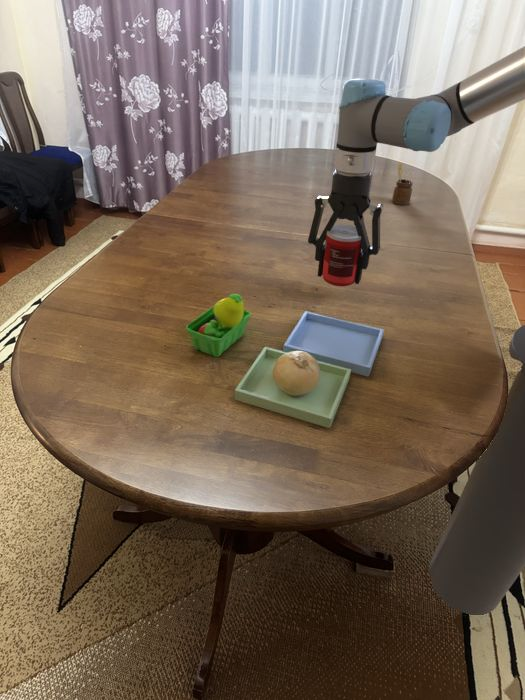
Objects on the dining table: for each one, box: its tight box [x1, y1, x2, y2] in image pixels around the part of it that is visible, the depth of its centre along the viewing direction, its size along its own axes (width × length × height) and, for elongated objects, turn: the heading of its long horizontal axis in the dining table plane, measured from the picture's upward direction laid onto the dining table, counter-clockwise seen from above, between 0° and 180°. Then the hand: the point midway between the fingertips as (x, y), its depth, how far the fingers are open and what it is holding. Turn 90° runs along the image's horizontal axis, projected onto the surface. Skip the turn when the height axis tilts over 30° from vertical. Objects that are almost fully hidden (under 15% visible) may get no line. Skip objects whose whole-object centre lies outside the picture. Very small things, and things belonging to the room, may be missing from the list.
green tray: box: [234, 346, 352, 429], centre depth 79 cm, size 16×13×2 cm
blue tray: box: [282, 310, 385, 378], centre depth 89 cm, size 16×13×2 cm
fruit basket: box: [185, 293, 252, 358], centre depth 86 cm, size 11×9×11 cm
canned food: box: [322, 224, 362, 287], centre depth 100 cm, size 8×8×11 cm
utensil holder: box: [391, 163, 416, 206], centre depth 155 cm, size 6×6×12 cm
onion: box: [273, 351, 320, 396], centre depth 77 cm, size 8×8×7 cm
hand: (339, 277), depth 103 cm, fingers closed on canned food, 8 cm apart
